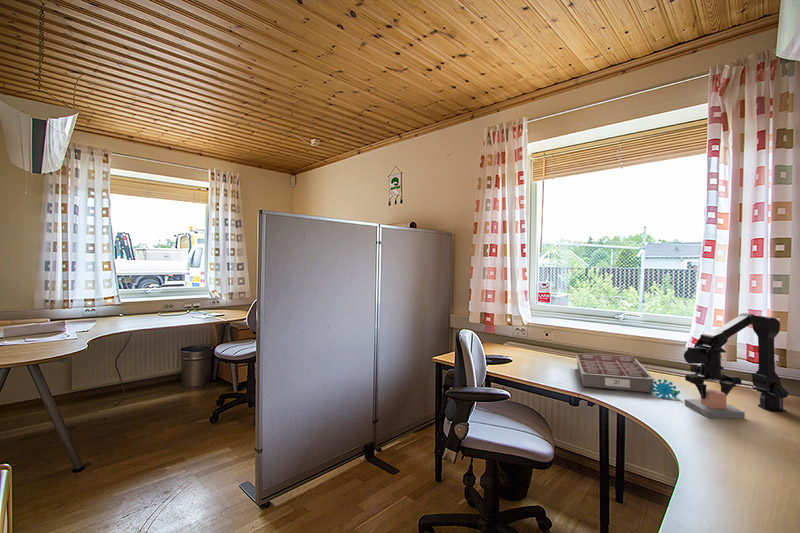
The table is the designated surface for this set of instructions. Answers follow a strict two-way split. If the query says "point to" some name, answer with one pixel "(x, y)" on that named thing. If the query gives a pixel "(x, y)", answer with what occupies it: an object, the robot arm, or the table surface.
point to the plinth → (714, 410)
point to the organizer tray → (613, 372)
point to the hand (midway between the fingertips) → (713, 399)
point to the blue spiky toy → (665, 389)
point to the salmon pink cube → (714, 399)
